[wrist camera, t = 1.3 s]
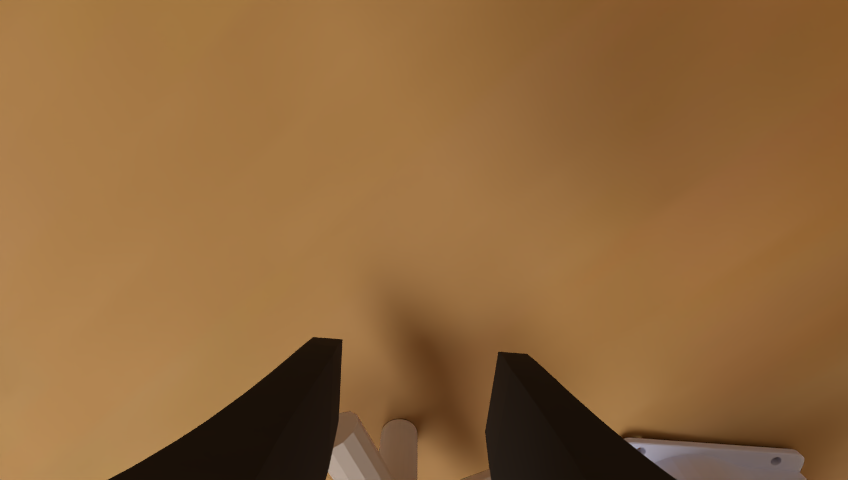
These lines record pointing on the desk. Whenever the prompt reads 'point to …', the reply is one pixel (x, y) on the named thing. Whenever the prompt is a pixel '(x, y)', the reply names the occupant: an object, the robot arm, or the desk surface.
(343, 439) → the pipe connector
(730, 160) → the desk surface
